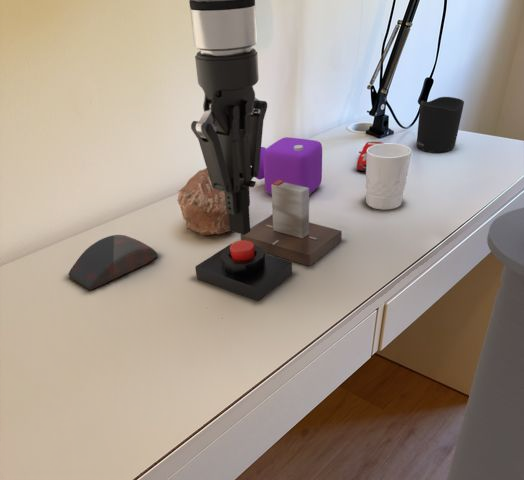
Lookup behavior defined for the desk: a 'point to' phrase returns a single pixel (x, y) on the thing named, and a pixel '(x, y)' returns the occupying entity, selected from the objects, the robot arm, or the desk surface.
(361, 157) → the race car
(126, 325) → the desk surface
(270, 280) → the button block
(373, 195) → the white cup
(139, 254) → the dark grey rounded block
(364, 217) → the desk surface
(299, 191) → the tap handle
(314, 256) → the panel
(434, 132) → the pen holder
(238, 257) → the button
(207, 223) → the decorative rock
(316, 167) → the toy camera
